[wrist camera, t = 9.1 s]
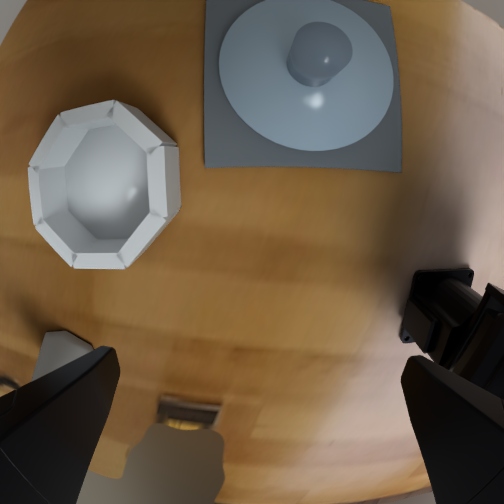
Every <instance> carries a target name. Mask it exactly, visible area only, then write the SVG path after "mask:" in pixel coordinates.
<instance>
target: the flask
mask: <svg viewBox="0 0 504 504" xmlns="http://www.w3.org/2000/svg"><path fill="white" fill-rule="evenodd" d="M93 350H94V349H93V347H92V345H90V344H88V343H86V342H84V341H83V340H81V339H79V338H77V337H76V336H74V335H72V334H70V333H69V332H67V331H56V332H46V333H45V336H44V339H43V342H42V346H41V349H40V353H39V356H38V360H37V363H36V367H35V370H34V373H33V377H32V380H31V382H32V381H34V380H36V379H38V378H40V377H42V376H44V375H46V374H48V373H49V372H51V371H53V370H55V369H57V368H59V367H61V366H63V365H65V364H67V363H69V362H71V361H73V360H75V359H77V358H79V357H81V356H83V355H85V354H87V353H89V352H91V351H93Z"/></svg>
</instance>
